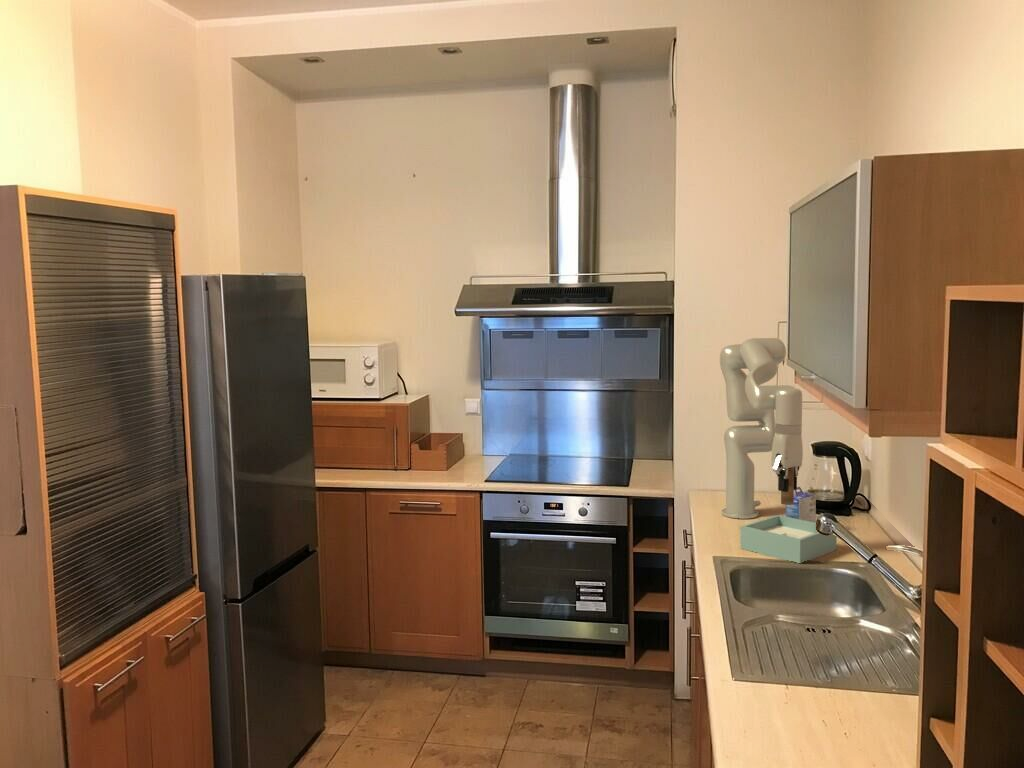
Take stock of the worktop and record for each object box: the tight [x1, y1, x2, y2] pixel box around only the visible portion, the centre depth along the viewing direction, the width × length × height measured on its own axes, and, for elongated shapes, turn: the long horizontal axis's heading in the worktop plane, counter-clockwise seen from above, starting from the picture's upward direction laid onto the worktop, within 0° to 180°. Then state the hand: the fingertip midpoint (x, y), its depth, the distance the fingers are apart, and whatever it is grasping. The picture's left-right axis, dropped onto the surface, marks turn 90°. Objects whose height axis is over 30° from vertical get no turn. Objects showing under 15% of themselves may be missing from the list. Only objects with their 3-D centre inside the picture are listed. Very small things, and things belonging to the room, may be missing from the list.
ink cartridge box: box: [785, 486, 817, 523], centre depth 269 cm, size 10×6×14 cm, turn 129°
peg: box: [780, 467, 795, 506], centre depth 249 cm, size 4×4×12 cm
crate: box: [739, 514, 838, 564], centre depth 250 cm, size 20×20×7 cm
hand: (787, 489), depth 249 cm, fingers closed on peg, 3 cm apart
